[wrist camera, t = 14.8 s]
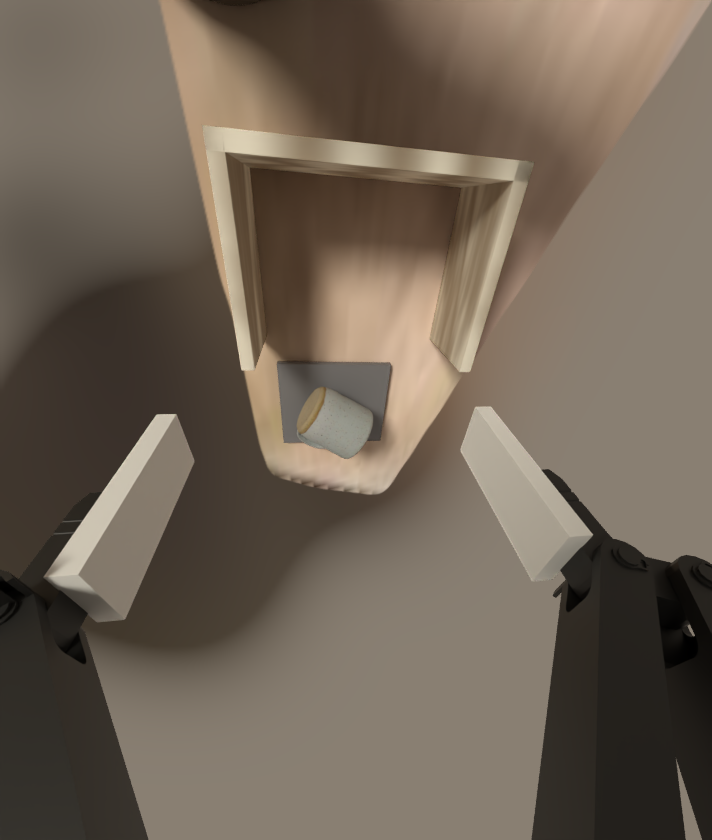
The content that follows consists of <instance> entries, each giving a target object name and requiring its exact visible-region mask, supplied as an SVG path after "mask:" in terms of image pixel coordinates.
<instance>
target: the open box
mask: <svg viewBox="0 0 712 840" xmlns="http://www.w3.org/2000/svg"><path fill="white" fill-rule="evenodd" d="M202 128H203V134H204V141H205V147H206V153H207V159H208V165H209V172H210V178H211V184H212V190H213V196H214V202H215V209H216V215H217V221H218V227H219V233H220V239H221V246H222V252H223V258H224V264H225V270H226V277H227V283H228V289H229V295H230V301H231V307H232V314H233V320H234V326H235V332H236V338H237V345H238V351H239V357H240V363H241V369H242V370H255V368H256V365H257V362H258V359H259V356H260V353H261V351H262V348H263V345H264V342H265V339H266V336H267V331H266V321H265V311H264V301H263V292H262V282H261V272H260V262H259V253H258V243H257V233H256V224H255V214H254V204H253V194H252V185H251V175H250V168H259V169H270V170H280V171H291V172H301V173H312V174H322V175H333V176H344V177H354V178H365V179H375V180H386V181H396V182H407V183H417V184H428V185H439V186H449V187H460V188H461V191H460V196H459V201H458V206H457V210H456V215H455V220H454V225H453V230H452V234H451V239H450V244H449V249H448V253H447V258H446V263H445V268H444V273H443V277H442V282H441V287H440V292H439V297H438V301H437V306H436V311H435V316H434V320H433V325H432V330H431V335H430V340H431V341H432V342H433V343H434V344H435V345H436V346H437V347H438V349H439V350H440V351H441V352H442V353H443V354H444V355H445V356H446V357H447V359H448V360H449V361H450V362H451V363H452V364H453V365H454V366H455V368H456V369H457V370H458V371H459V372H470V371H471V367H472V364H473V361H474V358H475V354H476V351H477V348H478V345H479V341H480V338H481V335H482V331H483V328H484V325H485V322H486V318H487V315H488V312H489V309H490V305H491V302H492V299H493V296H494V292H495V289H496V286H497V282H498V279H499V276H500V273H501V269H502V266H503V263H504V260H505V256H506V253H507V250H508V247H509V243H510V240H511V237H512V233H513V230H514V227H515V224H516V220H517V217H518V214H519V211H520V207H521V204H522V201H523V198H524V194H525V191H526V188H527V184H528V181H529V178H530V175H531V171H532V168H533V165H534V162H530V161H521V160H512V159H503V158H494V157H485V156H476V155H467V154H458V153H449V152H440V151H431V150H422V149H413V148H404V147H395V146H386V145H377V144H368V143H359V142H350V141H341V140H332V139H323V138H314V137H305V136H296V135H287V134H278V133H269V132H260V131H251V130H241V129H232V128H223V127H214V126H205V125H202Z"/></svg>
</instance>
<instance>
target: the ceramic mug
mask: <svg viewBox="0 0 712 840" xmlns="http://www.w3.org/2000/svg"><path fill="white" fill-rule="evenodd" d="M372 426H373V414H372V412H371V411H370V410H369V409H367V408H365V407H363V406H362V405H360V404H358V403H356V402H354V401H353V400H351V399H349V398H347V397H345V396H343V395H341V394H340V393H338V392H336V391H334V390H332V389H329V388H327V387H319V388H317V389H315V390H314V391H313V392H312V394H311V395H310V396H309V398H308V399H307V401H306V402H305V404H304V406H303V408H302V410H301V412H300V414H299V417H298V420H297V436H298V438H299V439H300V440H301V441H302V442H304V443H305V444H307V445H309V446H312V447H315V448H320V449H327V450H329V451H331V452H333V453H334V454H336V455H338V456H340V457H342V458H344V459H349V458H351V457H353V456H354V455H356V454H357V453H358V452H359V451H360V450H361V448H362V447H363V446H364V444H365V443H366V441H367V439H368V438H369V435H370V433H371V429H372Z"/></svg>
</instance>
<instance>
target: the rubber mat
mask: <svg viewBox="0 0 712 840" xmlns="http://www.w3.org/2000/svg"><path fill="white" fill-rule="evenodd" d="M390 368H391V365H390V363H372V362H288V361H278V362H277V370H278V381H279V393H280V404H281V415H282V426H283V438H284V443H295V442H302V441H301V440H300V439H299V438H298V436H297V420H298V417H299V414H300V412H301V410H302V408H303V406H304V404H305V402H306V401H307V399H308V398H309V396H310V395H311V394H312V392H313V391H314V390H315V389H317V388H319V387H327V388H329V389H332V390H334V391H336V392H338V393H340V394H341V395H343V396H345V397H347V398H349V399H351V400H353V401H354V402H356V403H358V404H360V405H362V406H363V407H365V408H367V409H369V410H370V411H371V412H372V414H373V426H372V429H371V433H370V435H369V438H368V439H367V441H380V438H381V431H382V424H383V417H384V410H385V403H386V396H387V389H388V382H389V375H390Z"/></svg>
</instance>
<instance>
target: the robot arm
mask: <svg viewBox="0 0 712 840" xmlns="http://www.w3.org/2000/svg"><path fill="white" fill-rule="evenodd" d="M211 1H214V2H217V3H221V4H226V5H246V4H251V3H255V2H258V1H261V0H211ZM460 451H461V453H462V455H463V456H464V458H465V460H466V462H467V464H468V466H469V467H470V469H471V471H472V473H473V475H474V476H475V478H476V480H477V482H478V484H479V486H480V487H481V489H482V491H483V493H484V495H485V497H486V498H487V500H488V502H489V504H490V506H491V507H492V509H493V511H494V513H495V515H496V516H497V518H498V520H499V522H500V524H501V526H502V528H503V529H504V531H505V533H506V535H507V537H508V538H509V540H510V542H511V544H512V546H513V548H514V549H515V551H516V553H517V555H518V557H519V559H520V560H521V562H522V564H523V566H524V568H525V569H526V571H527V573H528V575H529V576H530V579H531V580H532V581H541V580H552V579H553V578H554V577H555V576H556V575H557V574H558V573H559V572H560V571H561V572H562V574H563V575H564V577H565V578H566V580H565V581H564V582H563V583H562V584H561V585H560V586H559V587H558V588H557V589H556V590H555V592H554V594H553V596H554V597H557V596H558V595H559V594H560V593H561V592H562V594H561V602H560V610H559V619H558V626H557V635H556V643H555V651H554V660H553V667H552V676H551V685H550V693H549V700H548V709H547V718H546V725H545V733H544V742H543V751H542V758H541V766H540V774H539V783H538V791H537V799H536V808H535V816H534V824H533V833H532V840H686V839H685V831H684V822H683V814H682V806H681V798H680V790H679V781H678V773H677V764H676V759H677V762H678V765H679V768H680V772H681V775H682V778H683V781H684V784H685V787H686V790H687V793H688V796H689V800H690V803H691V806H692V809H693V812H694V815H695V818H696V821H697V825H698V828H699V831H700V834H701V837H702V840H712V564H710V563H709V562H707V561H705V560H703V559H700V558H697V557H695V556H689V555H685V556H681V557H679V558H678V559H676V560H675V561H674V562H672V563H670V562H666V561H661V560H656V559H652V558H648V557H645V556H644V555H643V554H642V553H641V552H639V551H638V550H637V549H636V548H635V547H633V546H631V545H629V544H627V543H626V542H623V541H620V540H617V539H612V537H611V536H610V535H609V534H608V533H607V532H606V531H605V529H604V528H603V527H602V526H601V525H600V524H599V522H598V521H597V520H596V519H595V518H594V517H593V515H592V514H591V513H590V512H589V511H588V509H587V508H586V507H585V506H584V505H583V504H582V502H579V499H578V498H577V496H576V495H575V494H574V493H573V492H571V489H570V488H569V487H568V486H567V484H566V483H565V482H564V481H563V480H562V479H561V478H560V477H559V476H557V475H556V474H554V473H553V472H552V471H550V470H549V469H546V470H541V469H540V468H539V466H538V465H537V464H536V463H535V462H534V460H533V459H532V458H531V456H530V455H529V454H528V453H527V451H526V450H525V449H524V448H523V446H522V445H521V444H520V443H519V441H518V440H517V439H516V438H515V436H514V435H513V434H512V433H511V431H510V430H509V429H508V428H507V426H506V425H505V424H504V423H503V421H502V420H501V419H500V418H499V416H498V415H497V414H496V413H495V411H494V410H493V409H492V408H491V407H475V410H474V412H473V416H472V418H471V421H470V424H469V427H468V430H467V433H466V435H465V439H464V442H463V444H462V447H461V450H460ZM193 463H194V459H193V456H192V453H191V451H190V448H189V446H188V443H187V441H186V438H185V436H184V433H183V430H182V428H181V425H180V423H179V420H178V417H177V415H176V414H162V415H156V416H155V418H154V419H153V421H152V422H151V423H150V425H149V426H148V428H147V429H146V431H145V432H144V433H143V435H142V436H141V438H140V439H139V441H138V442H137V444H136V445H135V447H134V448H133V449H132V451H131V452H130V454H129V455H128V456H127V458H126V459H125V461H124V462H123V464H122V465H121V467H120V468H119V469H118V471H117V472H116V474H115V475H114V477H113V478H112V480H111V481H110V482H109V484H108V485H107V487H106V488H105V489H104V491H103V492H97V493H89V494H88V495H87V496H86V497H84V498H83V499H82V500H81V501H79V502H78V503H77V504H76V505H74V506H73V508H72V509H71V510H70V512H69V513H68V514H67V516H66V517H65V518H64V520H63V523H61V524H60V525H59V526H58V528H57V529H56V530H55V532H54V535H53V536H51V537H50V538H49V540H48V541H47V542H46V543H45V545H44V546H43V548H42V549H41V550H40V551H39V553H38V554H37V555H36V557H35V558H34V559H33V561H32V562H31V563H30V565H29V566H28V567H27V569H26V570H25V571H24V572H23V574H22V575H21V576H20V578H19V579H17V578H16V577H15V576H13V575H12V574H11V573H9V572H7V571H2V570H0V840H148V837H147V834H146V830H145V827H144V824H143V820H142V817H141V814H140V811H139V807H138V804H137V801H136V798H135V794H134V791H133V788H132V785H131V781H130V778H129V775H128V771H127V768H126V765H125V762H124V759H123V755H122V752H121V749H120V746H119V742H118V739H117V736H116V732H115V729H114V726H113V723H112V719H111V716H110V713H109V709H108V706H107V703H106V700H105V696H104V693H103V690H102V687H101V683H100V680H99V677H98V673H97V670H96V667H95V664H94V661H93V657H92V654H91V651H90V647H89V644H88V641H87V637H86V634H85V632H84V630H83V629H82V628H81V625H82V623H83V622H84V620H85V618H86V616H87V614H88V615H89V616H90V617H91V618H93V619H94V620H95V621H96V622H104V621H114V620H125V618H126V616H127V613H128V611H129V609H130V606H131V604H132V602H133V600H134V598H135V595H136V593H137V591H138V588H139V586H140V584H141V582H142V579H143V577H144V575H145V573H146V570H147V568H148V566H149V563H150V561H151V559H152V557H153V554H154V552H155V550H156V547H157V545H158V543H159V541H160V539H161V536H162V534H163V532H164V529H165V527H166V525H167V523H168V520H169V518H170V516H171V514H172V511H173V509H174V507H175V504H176V502H177V500H178V498H179V495H180V493H181V491H182V488H183V486H184V484H185V482H186V479H187V477H188V475H189V472H190V470H191V468H192V466H193ZM689 624H690V625H691V628H692V630H693V632H694V634H695V636H692V634H691V633H690V631H689V629H688V627H687V626H688V625H689Z"/></svg>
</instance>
